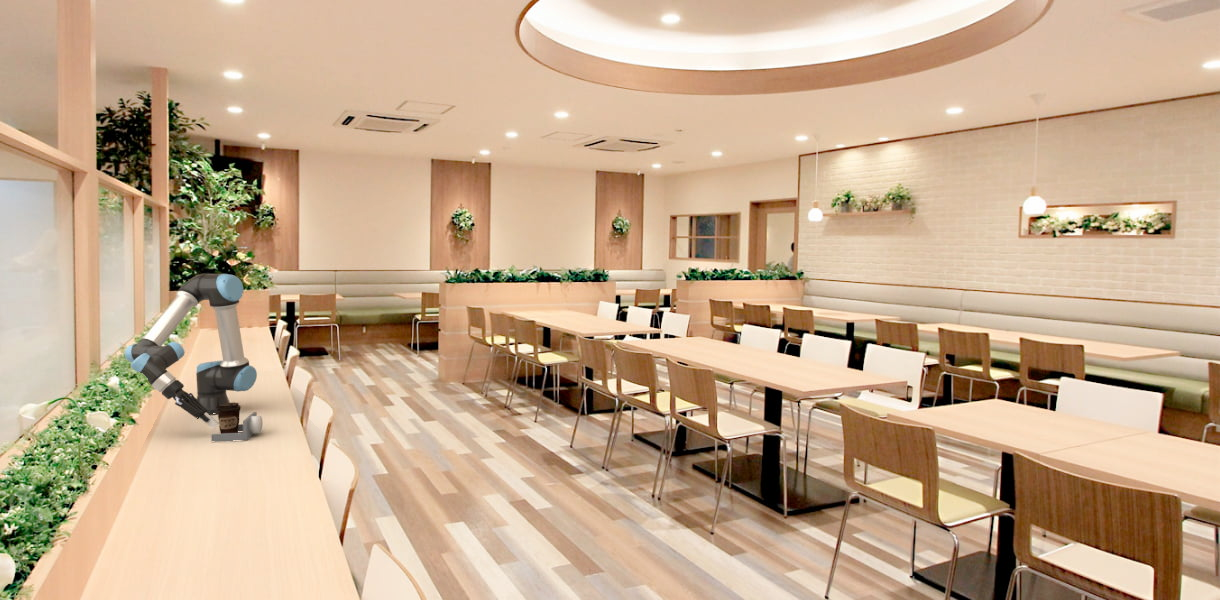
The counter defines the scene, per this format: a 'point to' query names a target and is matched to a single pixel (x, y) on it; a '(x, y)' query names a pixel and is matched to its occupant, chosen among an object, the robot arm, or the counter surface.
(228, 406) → the coffee cup
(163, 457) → the counter surface
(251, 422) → the bracket
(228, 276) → the robot arm
